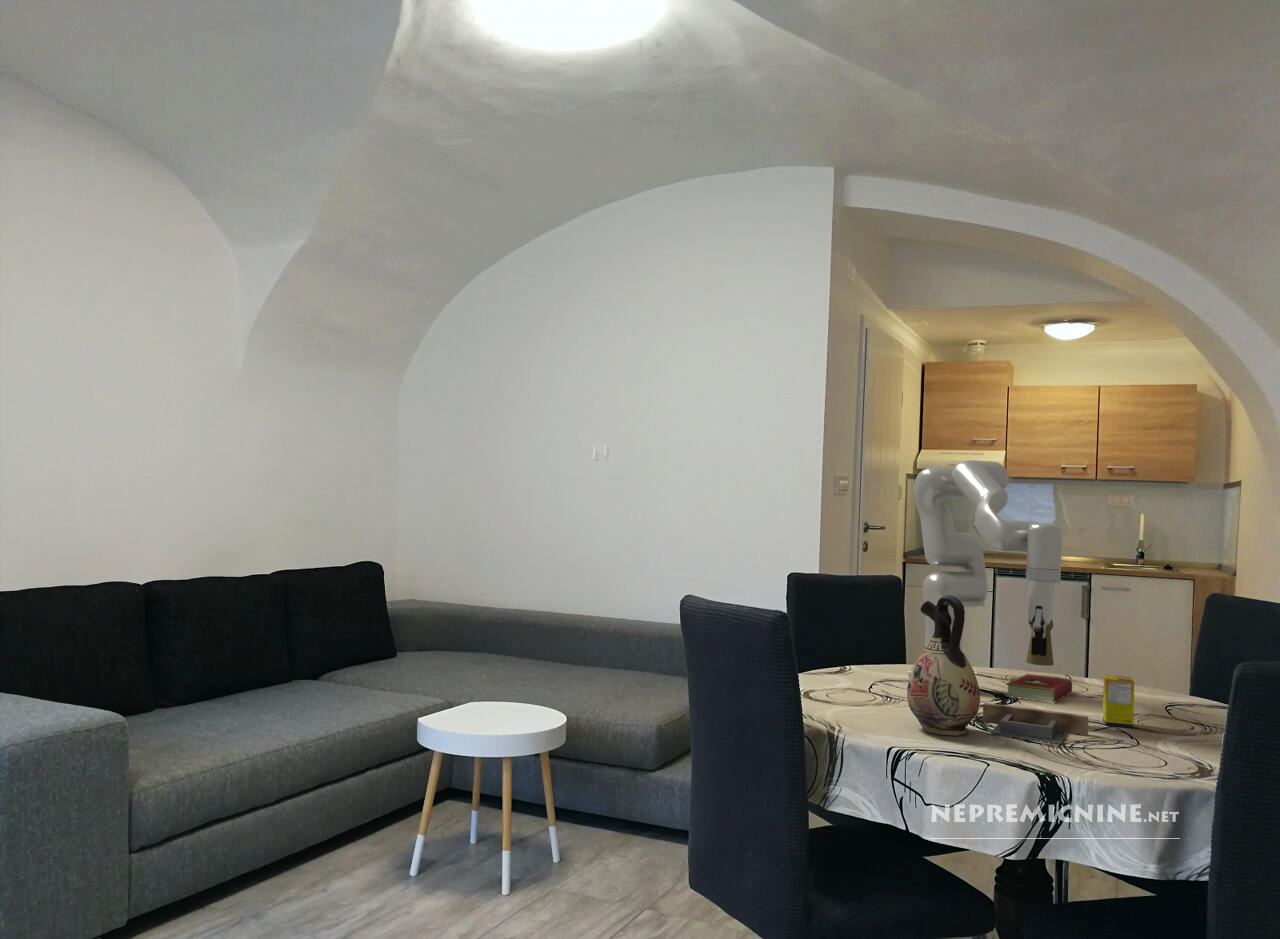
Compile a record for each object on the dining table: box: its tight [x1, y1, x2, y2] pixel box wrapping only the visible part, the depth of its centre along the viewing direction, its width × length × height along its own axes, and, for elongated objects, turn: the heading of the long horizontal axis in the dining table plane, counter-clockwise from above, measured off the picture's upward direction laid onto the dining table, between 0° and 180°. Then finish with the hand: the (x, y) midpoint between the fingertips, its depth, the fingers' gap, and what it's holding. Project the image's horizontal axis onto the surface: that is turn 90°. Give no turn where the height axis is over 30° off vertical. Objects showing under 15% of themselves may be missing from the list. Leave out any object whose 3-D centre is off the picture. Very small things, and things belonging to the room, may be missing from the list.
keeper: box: [990, 713, 1068, 745], centre depth 216 cm, size 14×12×3 cm
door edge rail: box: [982, 702, 1089, 736], centre depth 223 cm, size 22×2×4 cm, turn 61°
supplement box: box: [1102, 674, 1135, 729], centre depth 230 cm, size 6×6×11 cm
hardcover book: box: [1006, 673, 1073, 703], centre depth 265 cm, size 12×21×4 cm, turn 145°
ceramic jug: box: [906, 595, 981, 737], centre depth 216 cm, size 17×15×30 cm
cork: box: [1025, 618, 1055, 667], centre depth 232 cm, size 6×6×11 cm
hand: (1040, 653), depth 232 cm, fingers closed on cork, 4 cm apart
